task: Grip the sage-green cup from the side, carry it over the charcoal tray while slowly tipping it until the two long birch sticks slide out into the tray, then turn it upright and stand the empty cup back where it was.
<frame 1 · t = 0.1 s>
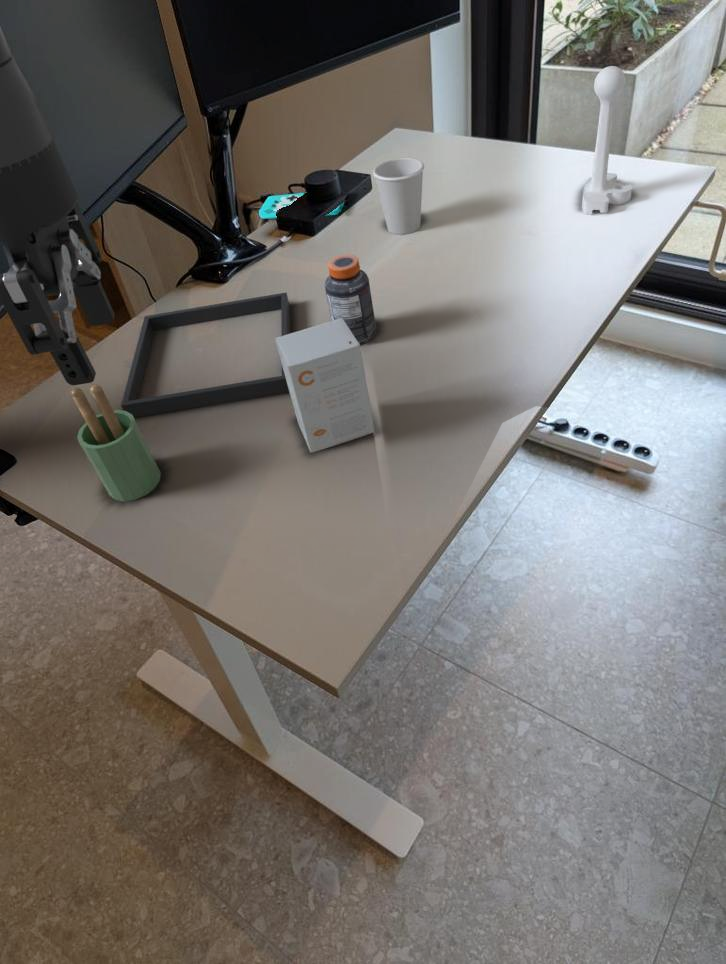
hand: (93, 350, 56), 24 cm above the table, tool pointing down, fingers open, 8 cm apart
stick b: (120, 436, 74), point 8 cm above the table, touching green cup
stick a: (102, 439, 74), point 8 cm above the table, touching green cup
green cup: (136, 486, 80), on the table, touching stick a, stick b
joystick: (606, 201, 114), on the table
pill bottle: (355, 336, 96), on the table
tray: (216, 362, 96), on the table
dixie cup: (404, 227, 118), on the table
small box: (336, 432, 82), on the table
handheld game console: (303, 209, 128), on the table
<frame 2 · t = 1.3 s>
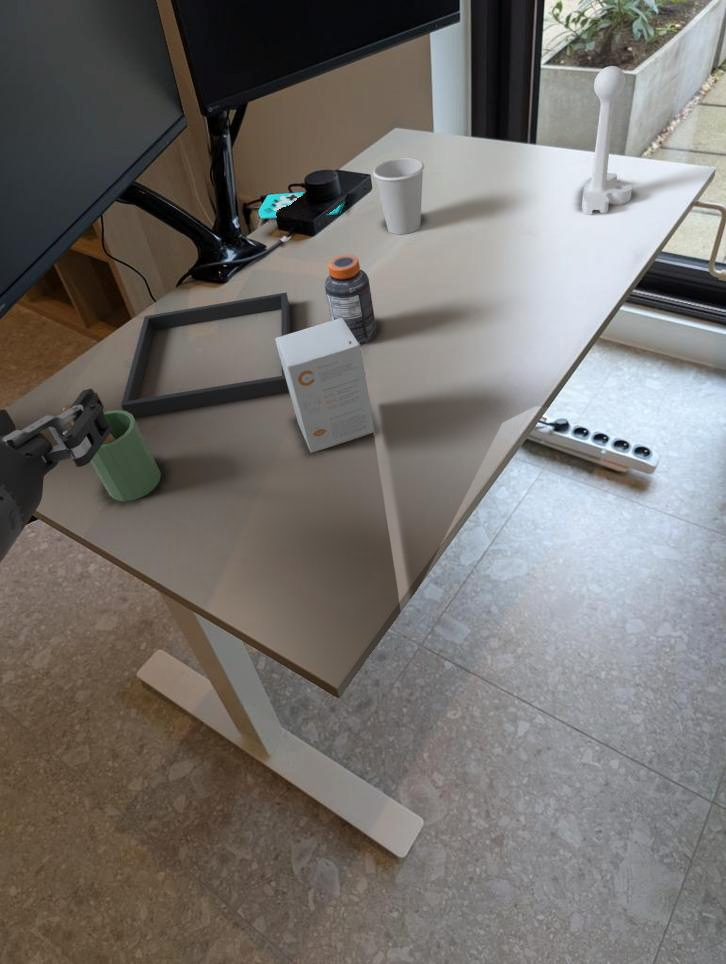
hand: (49, 408, 62), 18 cm above the table, tool horizontal, fingers open, 8 cm apart
stick b: (115, 447, 73), point 7 cm above the table, tilted 13°, touching green cup
stick a: (98, 448, 74), point 7 cm above the table, tilted 10°, touching green cup
everything else where it was.
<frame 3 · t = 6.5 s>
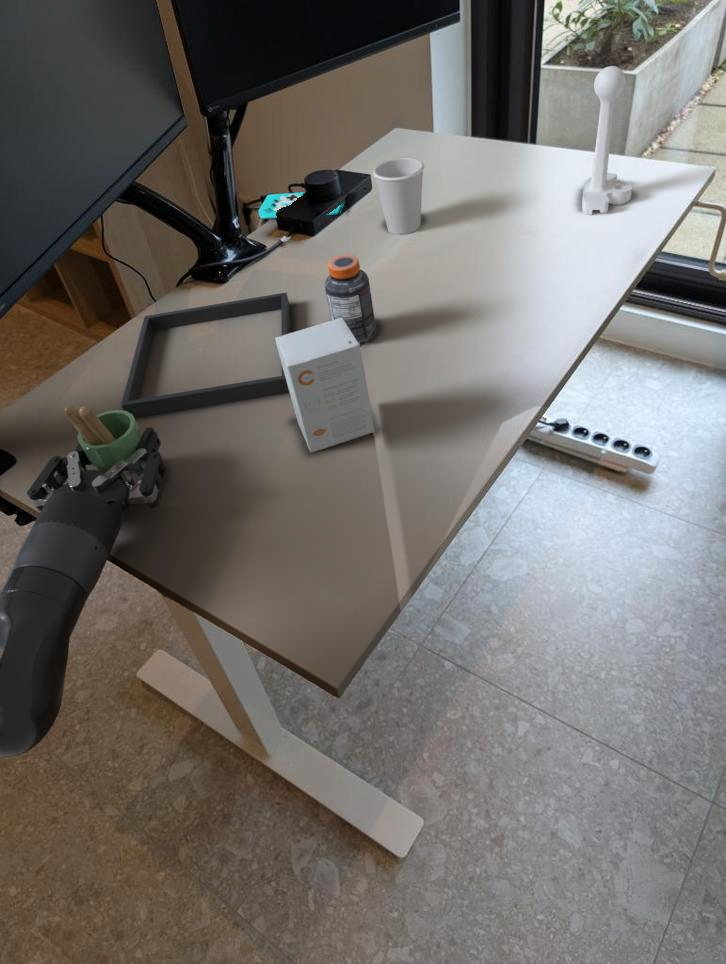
hand: (123, 434, 77), 6 cm above the table, tool horizontal, fingers closed on green cup, 6 cm apart
green cup: (136, 486, 80), on the table, touching gripper, stick a, stick b
everything else where it was.
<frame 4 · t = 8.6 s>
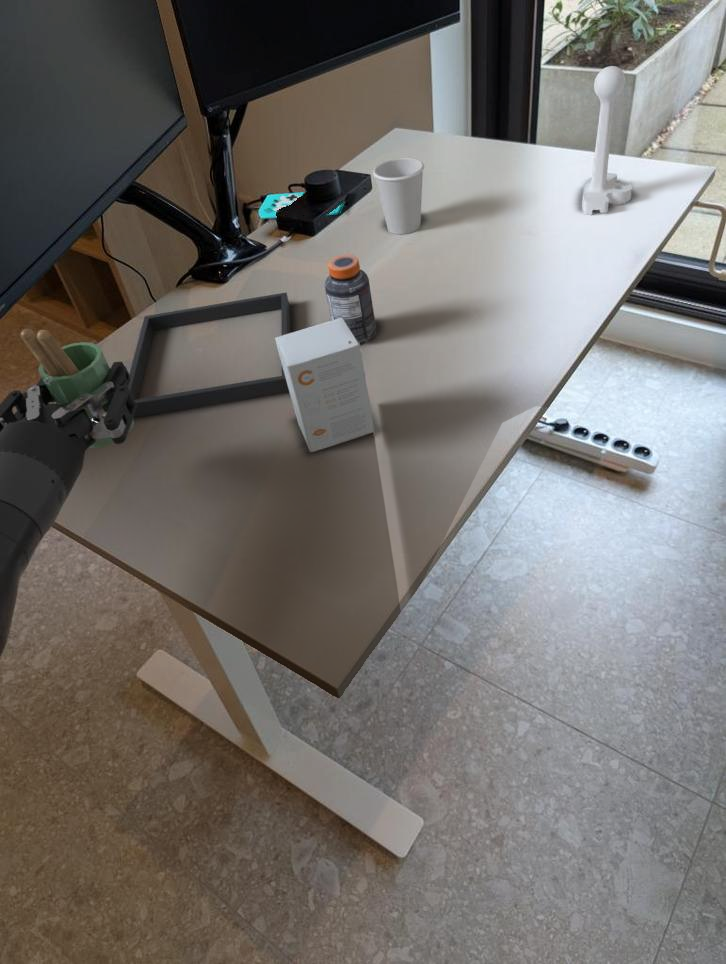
hand: (90, 370, 71), 15 cm above the table, tool horizontal, fingers closed on green cup, 6 cm apart
stick b: (79, 381, 67), point 16 cm above the table, tilted 13°, touching green cup
stick a: (62, 382, 67), point 16 cm above the table, tilted 11°, touching green cup
green cup: (105, 428, 74), point 9 cm above the table, touching gripper, stick a, stick b
everything else where it was.
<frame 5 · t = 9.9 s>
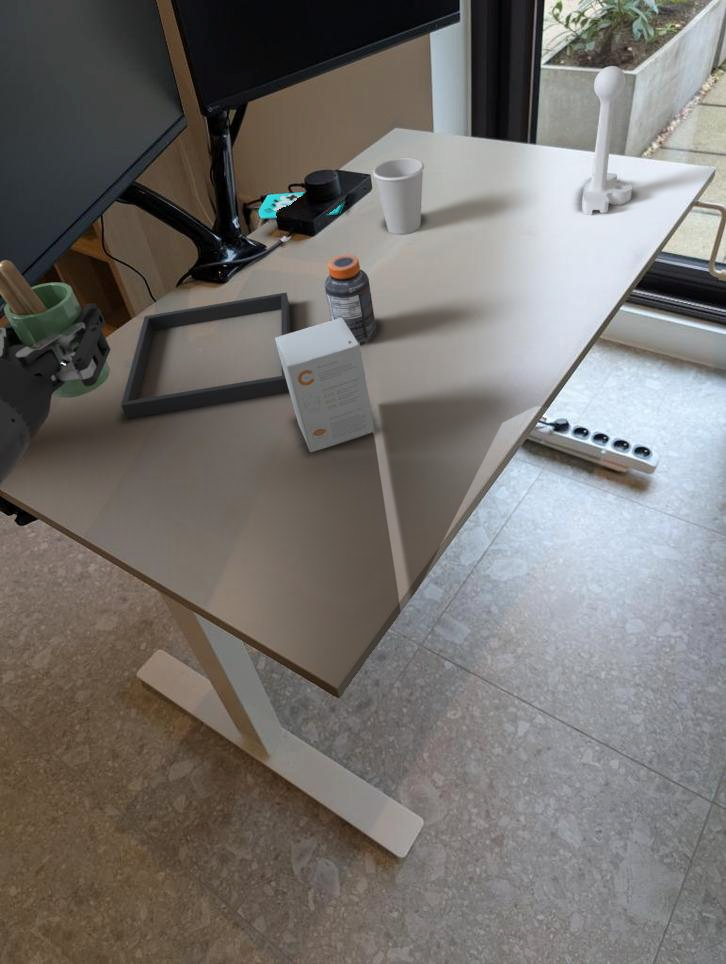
hand: (62, 314, 66), 22 cm above the table, tool horizontal, fingers closed on green cup, 6 cm apart
stick b: (48, 322, 62), point 23 cm above the table, tilted 13°, touching green cup
stick a: (30, 323, 62), point 23 cm above the table, tilted 11°, touching green cup
green cup: (79, 378, 69), point 16 cm above the table, touching gripper, stick a, stick b
everything else where it was.
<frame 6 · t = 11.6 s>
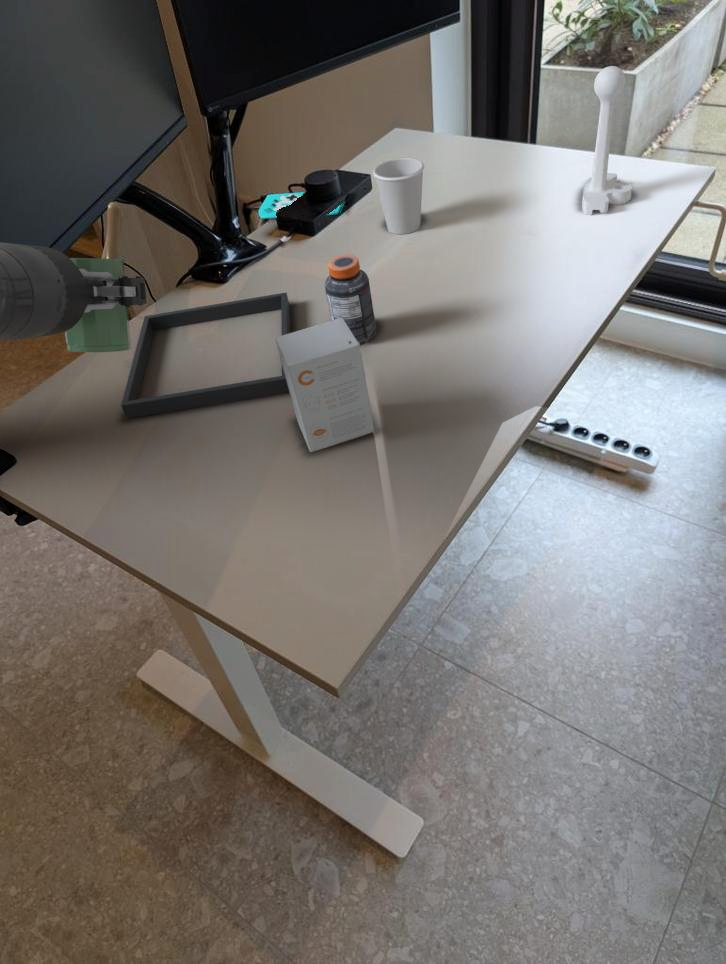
hand: (102, 289, 72), 20 cm above the table, tool tilted 60°, fingers closed on green cup, 6 cm apart
stick b: (111, 274, 70), point 22 cm above the table, tilted 35°, touching green cup
stick a: (104, 276, 70), point 22 cm above the table, tilted 46°, touching green cup
green cup: (99, 349, 71), point 16 cm above the table, tilted 30°, touching gripper, stick a, stick b
everything else where it was.
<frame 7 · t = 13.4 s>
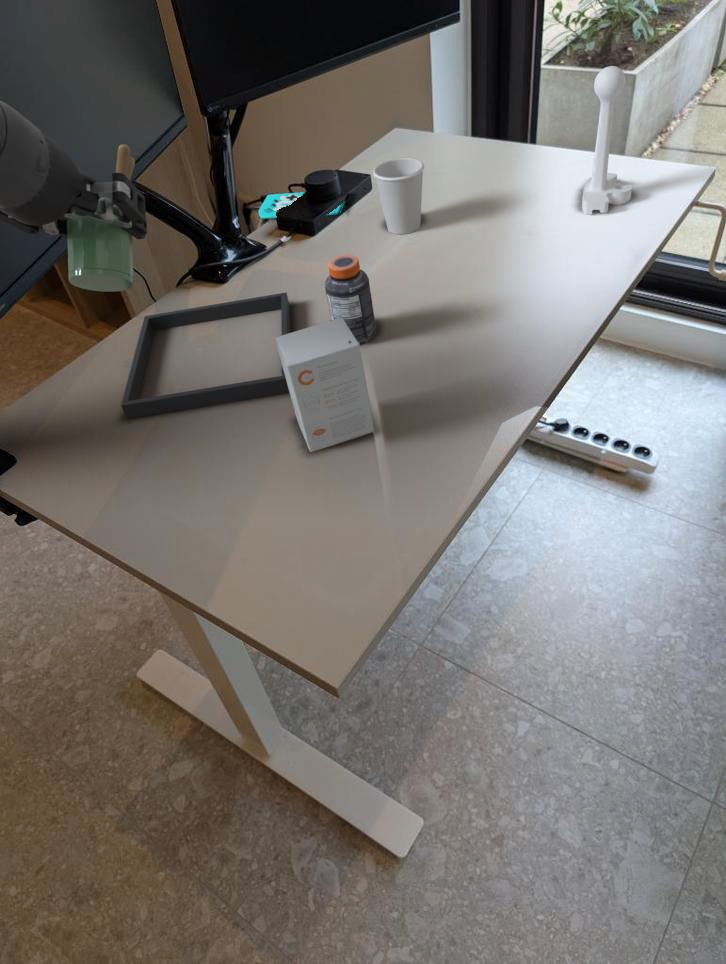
hand: (110, 232, 72), 24 cm above the table, tool tilted 45°, fingers closed on green cup, 6 cm apart
stick b: (118, 210, 70), point 26 cm above the table, tilted 50°, touching green cup, stick a
stick a: (111, 216, 71), point 26 cm above the table, tilted 58°, touching green cup, stick b
green cup: (101, 283, 70), point 22 cm above the table, tilted 45°, touching gripper, stick a, stick b
everything else where it was.
when the fingers open (6 cm above the table, at t = 33.7 s): green cup stays where it is, on the table.
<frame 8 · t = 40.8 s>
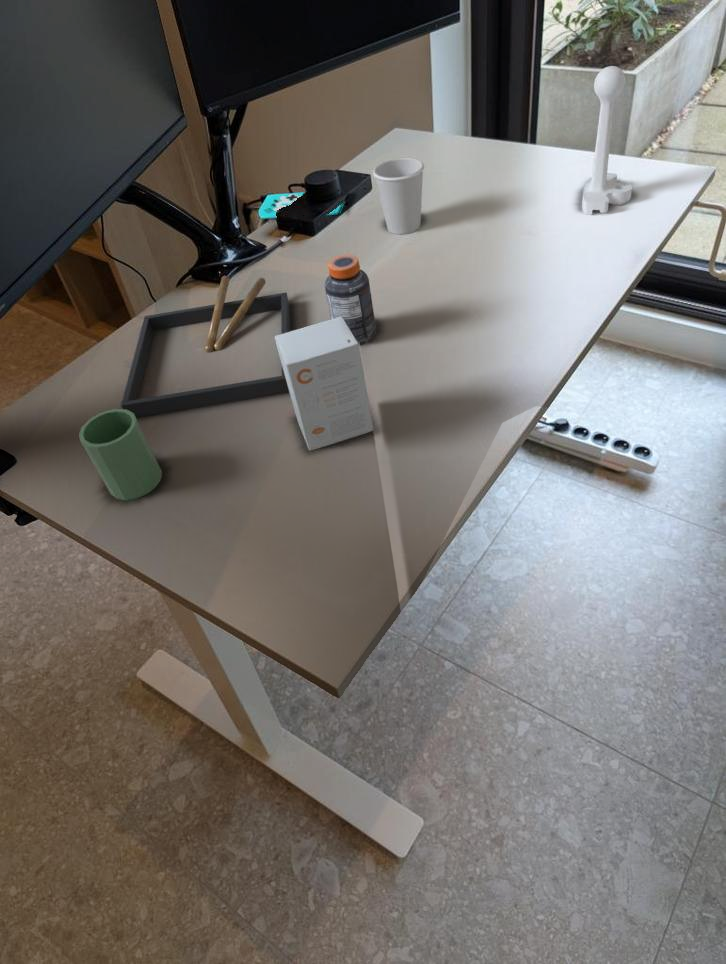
stick b: (240, 313, 99), point 3 cm above the table, tilted 105°, touching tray
stick a: (217, 313, 99), point 3 cm above the table, tilted 107°, touching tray
green cup: (138, 484, 80), on the table
everything else where it was.
at the end: stick a inside the target area in the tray (8.0 cm from its centre), point 3.0 cm above the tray's base; stick b inside the target area in the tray (8.3 cm from its centre), point 2.8 cm above the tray's base; green cup tilted 0° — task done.
